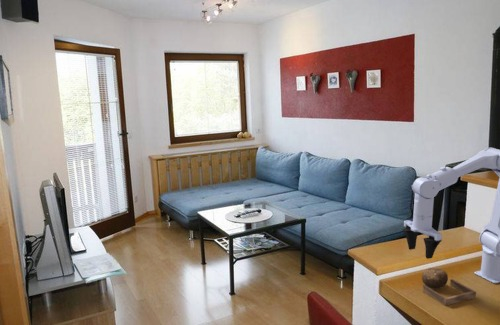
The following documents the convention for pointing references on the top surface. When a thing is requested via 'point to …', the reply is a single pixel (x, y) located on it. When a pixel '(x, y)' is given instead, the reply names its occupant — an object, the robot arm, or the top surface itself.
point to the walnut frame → (466, 295)
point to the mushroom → (435, 278)
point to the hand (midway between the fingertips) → (420, 253)
